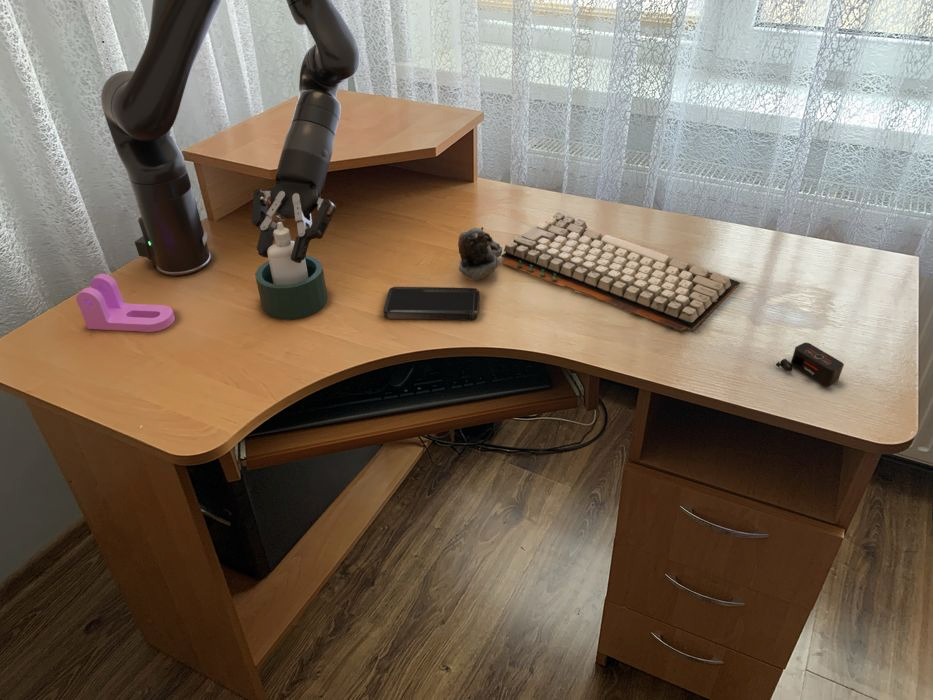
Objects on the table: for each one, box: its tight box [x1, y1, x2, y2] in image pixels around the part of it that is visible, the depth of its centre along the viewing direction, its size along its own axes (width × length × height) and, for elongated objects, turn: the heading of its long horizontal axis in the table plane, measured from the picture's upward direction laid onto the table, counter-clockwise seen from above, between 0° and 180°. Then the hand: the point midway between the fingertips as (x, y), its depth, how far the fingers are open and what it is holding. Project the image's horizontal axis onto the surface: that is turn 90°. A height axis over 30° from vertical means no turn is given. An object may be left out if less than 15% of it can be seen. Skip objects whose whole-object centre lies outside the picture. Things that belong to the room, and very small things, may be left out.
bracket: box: [75, 273, 176, 333], centre depth 116 cm, size 13×6×7 cm, turn 83°
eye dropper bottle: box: [267, 222, 308, 285], centre depth 117 cm, size 4×6×12 cm
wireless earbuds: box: [775, 342, 845, 388], centre depth 102 cm, size 5×7×3 cm, turn 31°
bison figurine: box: [457, 226, 503, 281], centre depth 125 cm, size 12×7×10 cm, turn 173°
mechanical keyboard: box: [500, 211, 741, 332], centre depth 126 cm, size 38×19×3 cm, turn 51°
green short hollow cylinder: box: [254, 254, 328, 321], centre depth 120 cm, size 11×11×6 cm
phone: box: [383, 286, 480, 321], centre depth 119 cm, size 8×1×15 cm
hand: (279, 258), depth 115 cm, fingers closed on eye dropper bottle, 5 cm apart
